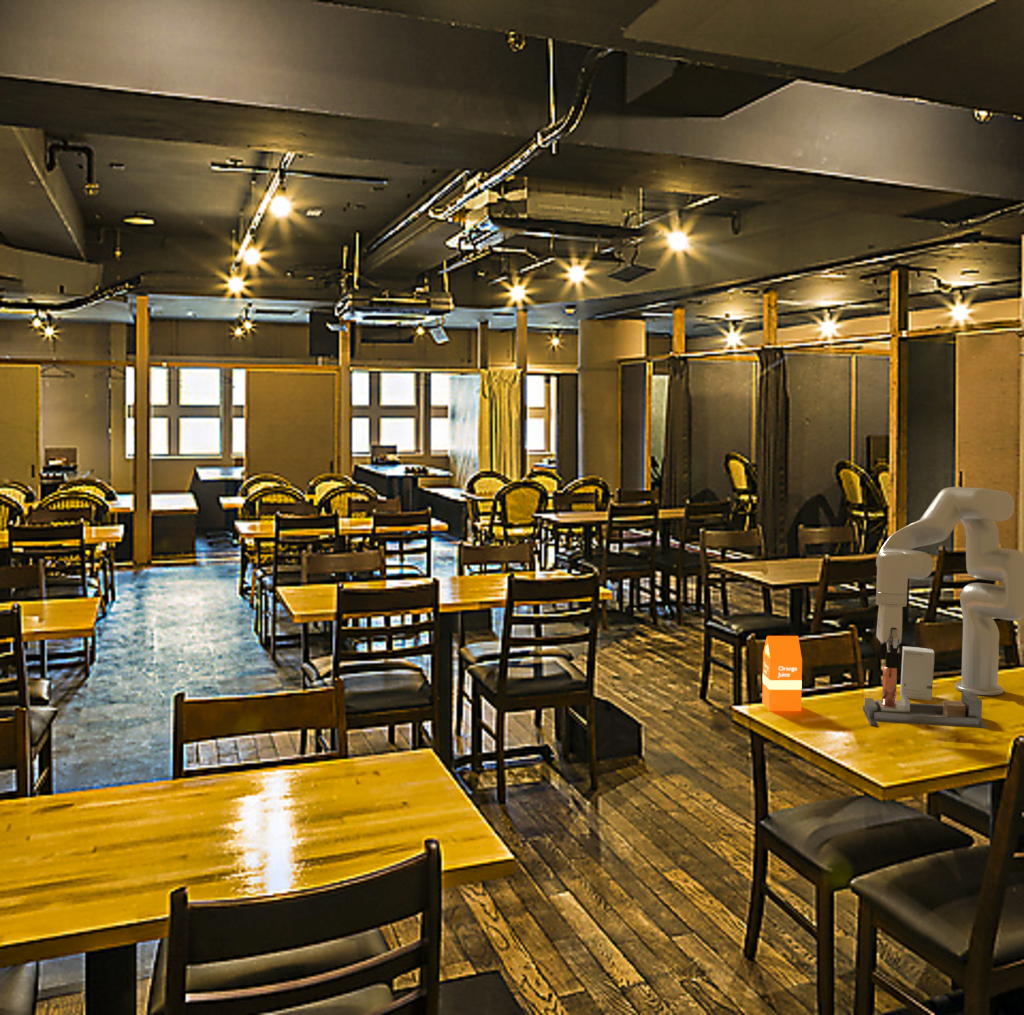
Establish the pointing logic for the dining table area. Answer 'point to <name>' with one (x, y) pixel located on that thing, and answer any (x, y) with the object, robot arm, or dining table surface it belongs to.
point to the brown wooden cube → (953, 708)
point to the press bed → (930, 713)
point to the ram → (892, 694)
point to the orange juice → (782, 674)
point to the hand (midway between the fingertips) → (889, 663)
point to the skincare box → (917, 672)
